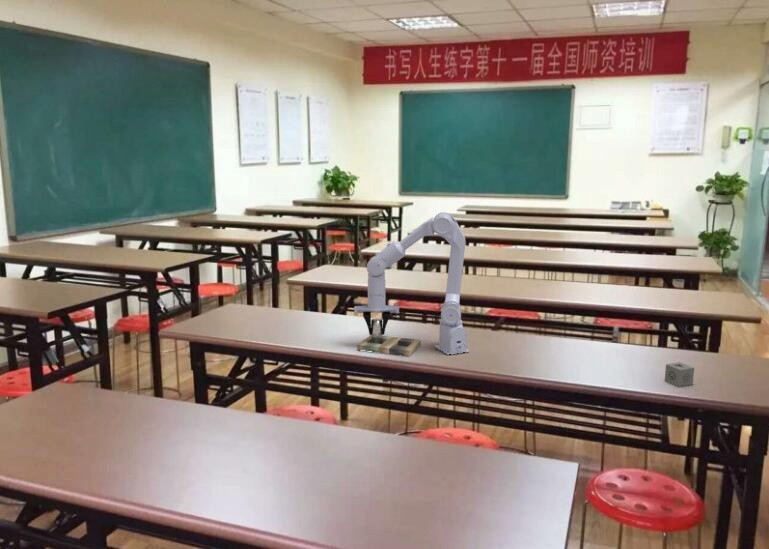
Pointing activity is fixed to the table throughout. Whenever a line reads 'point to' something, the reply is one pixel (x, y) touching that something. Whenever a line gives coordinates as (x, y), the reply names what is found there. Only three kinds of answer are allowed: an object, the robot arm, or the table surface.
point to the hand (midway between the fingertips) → (376, 333)
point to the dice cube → (679, 374)
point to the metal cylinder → (376, 331)
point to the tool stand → (391, 345)
